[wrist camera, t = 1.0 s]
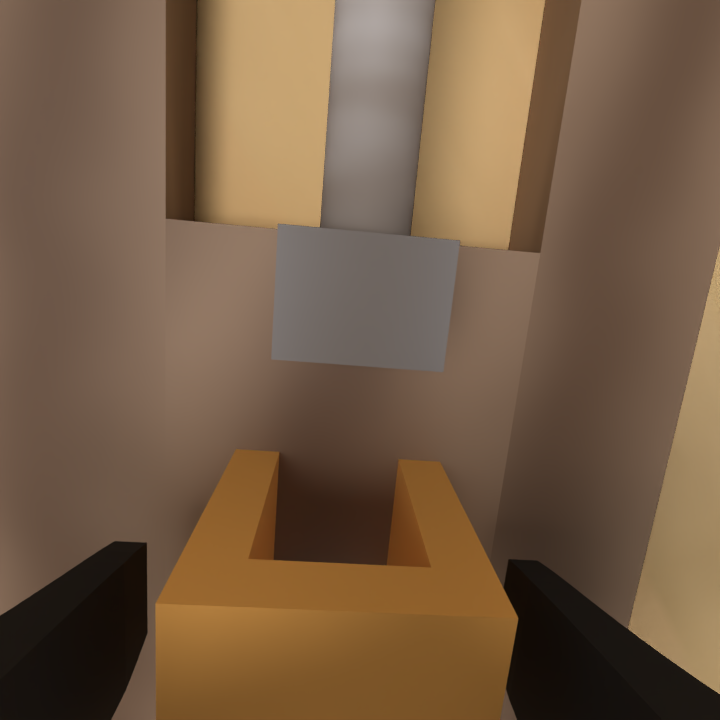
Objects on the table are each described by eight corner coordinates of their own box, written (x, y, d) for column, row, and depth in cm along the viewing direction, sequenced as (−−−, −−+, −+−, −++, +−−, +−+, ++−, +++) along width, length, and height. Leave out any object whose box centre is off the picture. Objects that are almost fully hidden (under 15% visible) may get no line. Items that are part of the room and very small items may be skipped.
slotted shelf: (754, -194, 10) (1283, -764, 5) (562, 702, 16) (699, 973, 10) (-5, -315, 9) (-562, -1245, 4) (54, 687, 14) (-138, 980, 9)
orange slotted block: (440, 461, 11) (518, 618, 6) (421, 607, 12) (477, 843, 7) (235, 449, 11) (154, 603, 6) (230, 599, 12) (156, 840, 7)
